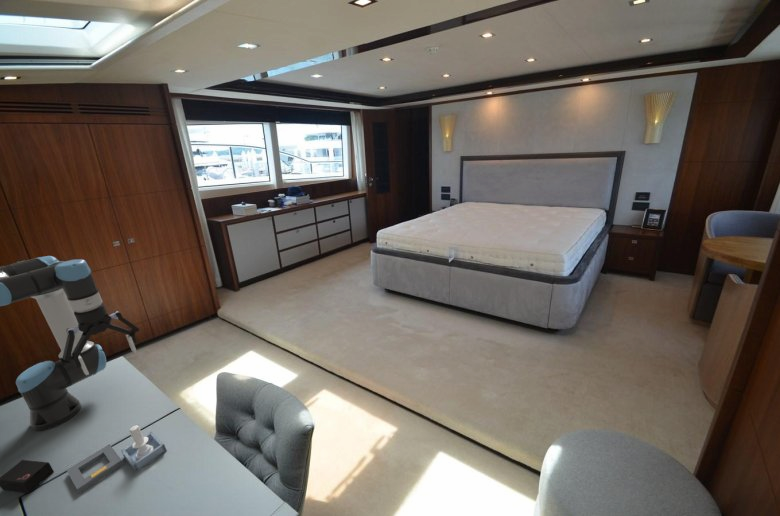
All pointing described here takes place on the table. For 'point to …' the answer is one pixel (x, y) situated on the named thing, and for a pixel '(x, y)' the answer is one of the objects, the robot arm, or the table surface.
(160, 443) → the tray
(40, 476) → the electronic device
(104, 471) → the socket panel
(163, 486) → the table surface
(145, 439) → the white cylindrical piece
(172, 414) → the table surface
